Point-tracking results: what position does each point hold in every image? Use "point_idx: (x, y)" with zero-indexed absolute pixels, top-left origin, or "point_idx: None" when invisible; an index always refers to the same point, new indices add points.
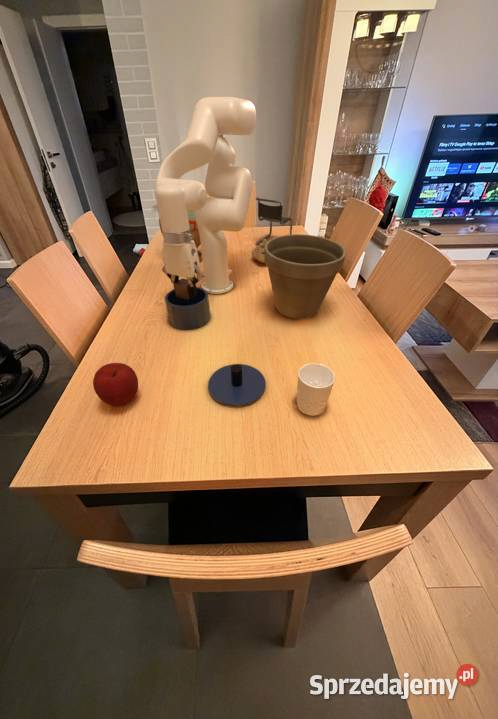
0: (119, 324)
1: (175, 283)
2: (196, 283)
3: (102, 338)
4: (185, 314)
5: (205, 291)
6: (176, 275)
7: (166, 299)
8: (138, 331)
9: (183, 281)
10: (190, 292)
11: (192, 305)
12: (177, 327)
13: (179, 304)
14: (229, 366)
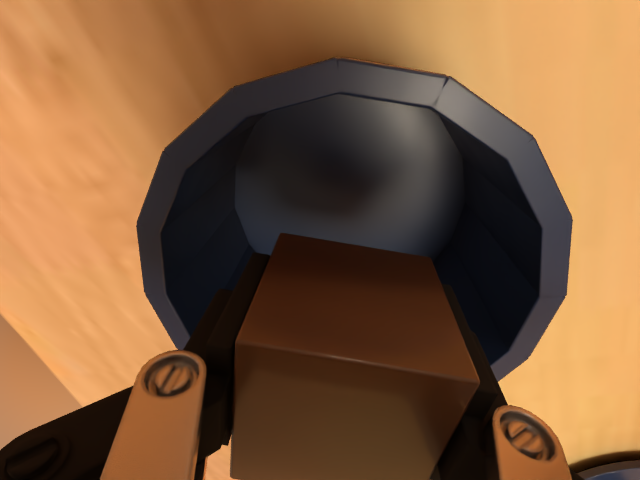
0: (41, 309)
1: (238, 468)
2: (533, 430)
3: (70, 387)
4: None
5: (533, 171)
6: (154, 451)
7: None
8: (159, 338)
9: (317, 423)
10: None
11: None
12: None
13: (234, 147)
14: (609, 477)
